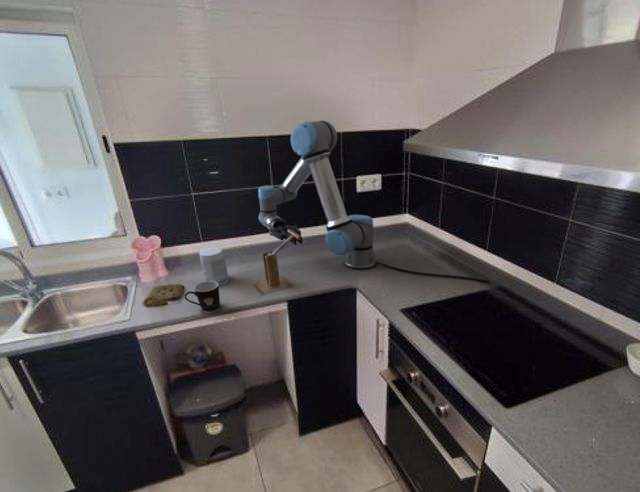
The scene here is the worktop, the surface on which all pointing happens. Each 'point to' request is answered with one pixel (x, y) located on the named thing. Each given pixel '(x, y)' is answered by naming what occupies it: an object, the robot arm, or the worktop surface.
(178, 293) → the pastry
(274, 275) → the bracket
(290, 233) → the lever
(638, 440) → the worktop surface
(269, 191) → the robot arm
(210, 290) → the coffee mug
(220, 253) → the supplement tub
